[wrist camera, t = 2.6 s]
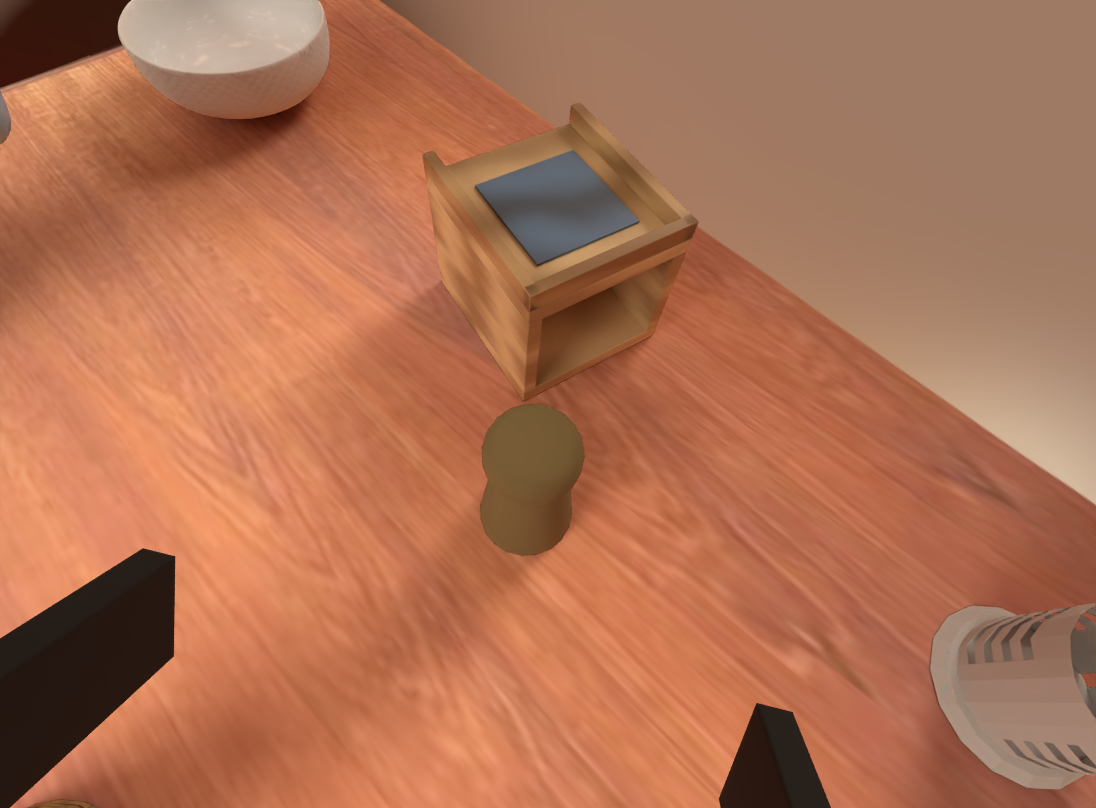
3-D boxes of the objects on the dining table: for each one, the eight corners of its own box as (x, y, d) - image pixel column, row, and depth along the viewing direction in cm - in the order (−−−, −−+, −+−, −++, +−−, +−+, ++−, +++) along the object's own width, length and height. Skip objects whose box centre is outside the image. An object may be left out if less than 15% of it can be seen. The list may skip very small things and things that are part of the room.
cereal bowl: (227, 175, 48) (186, 98, 42) (127, 89, 53) (77, 8, 47) (378, 96, 55) (362, 20, 49) (278, 26, 60) (251, -52, 53)
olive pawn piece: (541, 451, 38) (554, 367, 28) (589, 525, 36) (621, 460, 26) (463, 493, 36) (449, 418, 26) (509, 574, 34) (511, 524, 24)
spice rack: (440, 280, 45) (422, 153, 34) (563, 230, 48) (580, 101, 38) (523, 401, 40) (530, 297, 29) (652, 335, 43) (699, 221, 33)
